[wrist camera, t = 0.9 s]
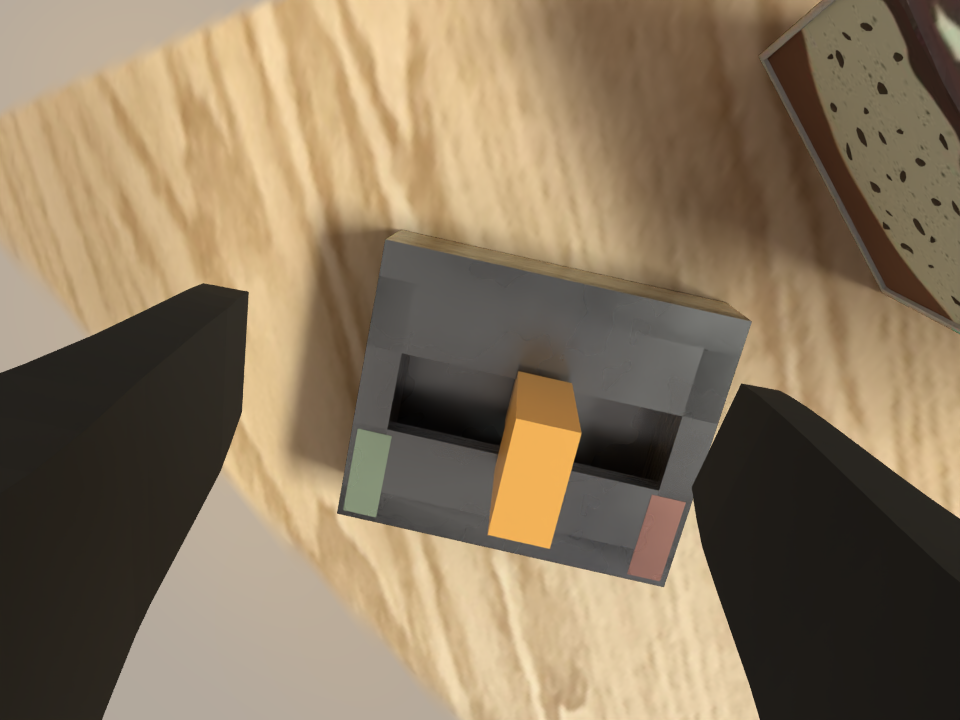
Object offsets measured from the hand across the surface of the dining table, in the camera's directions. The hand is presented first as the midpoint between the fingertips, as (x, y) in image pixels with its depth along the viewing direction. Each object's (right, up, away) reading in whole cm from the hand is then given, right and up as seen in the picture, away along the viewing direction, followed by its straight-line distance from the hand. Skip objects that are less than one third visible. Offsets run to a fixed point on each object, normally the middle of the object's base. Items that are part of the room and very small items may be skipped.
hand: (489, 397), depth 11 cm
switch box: (+2, -1, +17) cm, 17 cm away
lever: (+2, -1, +17) cm, 17 cm away
